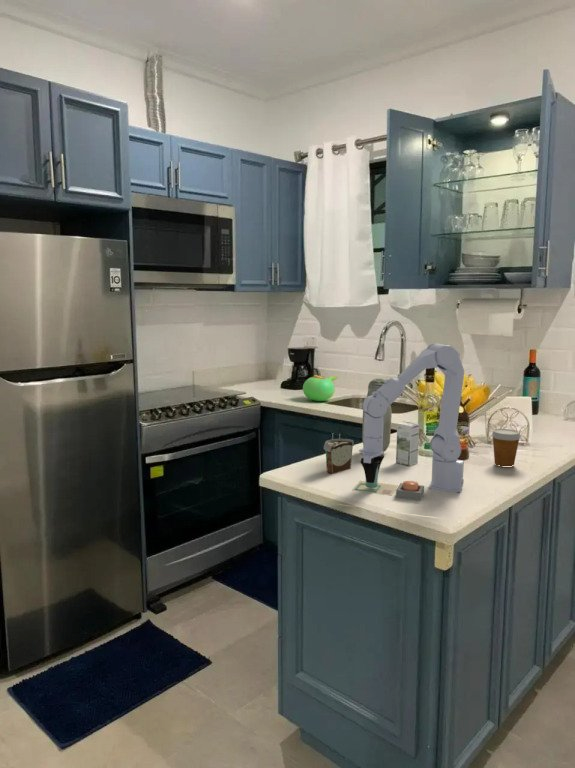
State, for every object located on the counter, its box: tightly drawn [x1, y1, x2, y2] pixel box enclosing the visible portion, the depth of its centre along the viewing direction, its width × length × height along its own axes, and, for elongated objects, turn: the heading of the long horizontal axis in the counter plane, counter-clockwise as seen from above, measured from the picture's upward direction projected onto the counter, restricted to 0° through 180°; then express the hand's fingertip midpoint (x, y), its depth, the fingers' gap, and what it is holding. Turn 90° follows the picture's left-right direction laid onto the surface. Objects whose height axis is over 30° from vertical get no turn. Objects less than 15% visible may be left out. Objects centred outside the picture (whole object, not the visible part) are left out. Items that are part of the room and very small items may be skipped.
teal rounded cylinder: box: [365, 465, 379, 488], centre depth 179 cm, size 4×4×8 cm
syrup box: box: [395, 420, 420, 467], centre depth 208 cm, size 6×6×14 cm
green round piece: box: [302, 374, 339, 402], centre depth 330 cm, size 18×17×15 cm
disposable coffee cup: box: [491, 428, 522, 466], centre depth 207 cm, size 10×10×12 cm
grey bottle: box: [361, 378, 393, 453], centre depth 220 cm, size 10×10×28 cm
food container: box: [323, 438, 355, 475], centre depth 199 cm, size 12×6×10 cm, turn 134°
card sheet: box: [352, 480, 399, 496], centre depth 181 cm, size 12×10×1 cm
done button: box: [402, 480, 419, 492], centre depth 174 cm, size 4×4×2 cm
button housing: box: [395, 482, 425, 502], centre depth 174 cm, size 7×7×3 cm
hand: (371, 480), depth 179 cm, fingers closed on teal rounded cylinder, 4 cm apart
